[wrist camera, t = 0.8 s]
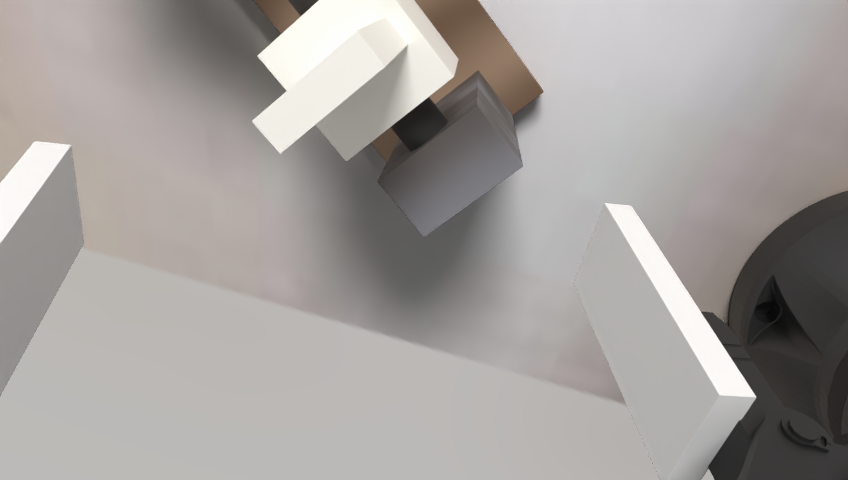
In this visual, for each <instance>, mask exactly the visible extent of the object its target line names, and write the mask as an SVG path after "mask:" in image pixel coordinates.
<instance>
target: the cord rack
mask: <svg viewBox="0 0 848 480" xmlns="http://www.w3.org/2000/svg"><path fill="white" fill-rule="evenodd" d="M253 1H254V2H255V3H256V4H257V5H258V7H259V8H260V9H261V10H262V11H263V13H264V14H265V15H266V16H267V18H268V19H269V20H270V21H271V22H272V24H273V25H274V26H275V27H276V28H277V30H278V31H279V32H280V33H281V34H282V33H283V32H284V31H285V30H286V29H288V28H289V27H290V26H291V25H292V24H293V23H294V22H295V21H296V20H298V19H299V18H300V17H301V16H302V15H303V14H304V13H305V12H306V11H308V10H309V9H310V8H311V7H312V6H313V5H314V4H315V3H316V2H317V1H319V0H253ZM415 2H416V3H417V4H418V6H419V7H420V8H421V10H422V11H423V12H424V14H425V15H426V16H427V18H428V19H429V20H430V22H431V23H432V24H433V26H434V27H435V28H436V30H437V31H438V32H439V34H440V35H441V36H442V38H443V39H444V40H445V42H446V43H447V44H448V46H449V47H450V48H451V50H452V51H453V52H454V54H455V55H456V56H457V58H458V59H459V60H458V63H457V67H456V71H455V75H454V77H453V78H452V79H450V80H449V81H448V82H447V83H445V84H444V85H443V86H442V87H440V88H439V89H438V90H437V91H435V92H434V93H433V94H432V95H430V96H429V97H428V98H426V99H425V100H424V101H423V102H421V103H420V104H419V105H418V106H416V107H415V108H414V109H413V110H411V111H410V112H409V113H408V114H406V115H405V116H404V117H402V118H401V119H400V120H399V121H397V122H396V123H395V124H394V125H392V126H391V127H390V128H389V129H387V130H386V131H385V132H384V133H382V134H381V135H380V136H378V137H377V138H376V139H375V140H373V141H372V142H371V144H372V145H373V146H374V148H375V149H376V150H377V151H378V152H379V154H380V155H381V156H382V157H383V158H384V160H385V161H386V162H387V164H386V166H385V168H384V170H383V172H382V174H381V176H380V178H379V180H378V183H379V184H380V185H381V187H382V188H383V189H384V190H385V191H386V193H387V194H388V195H389V196H390V197H391V198H392V200H393V201H394V202H395V203H396V204H397V206H398V207H399V208H400V209H401V210H402V212H403V213H404V214H405V215H406V216H407V218H408V219H409V220H410V221H411V222H412V224H413V225H414V226H415V227H416V228H417V230H418V231H419V232H420V233H421V234H422V236H423V237H425V236H426V235H428V234H429V233H430V232H432V231H433V230H435V229H436V228H437V227H439V226H440V225H442V224H443V223H444V222H446V221H447V220H449V219H450V218H451V217H453V216H454V215H456V214H457V213H458V212H460V211H461V210H463V209H464V208H465V207H467V206H468V205H470V204H471V203H472V202H474V201H475V200H477V199H478V198H479V197H481V196H482V195H484V194H485V193H486V192H488V191H489V190H491V189H492V188H493V187H495V186H496V185H498V184H499V183H500V182H502V181H503V180H505V179H506V178H507V177H509V176H510V175H512V174H513V173H514V172H516V171H517V170H519V169H520V168H521V167H523V164H522V159H521V154H520V150H519V145H518V140H517V136H516V131H515V126H514V121H513V117H512V115H514V114H515V113H516V112H518V111H519V110H520V109H522V108H523V107H524V106H526V105H527V104H528V103H530V102H531V101H532V100H534V99H535V98H536V97H538V96H539V95H540V94H542V93H543V90H542V88H541V87H540V85H539V84H538V82H537V81H536V80H535V78H534V77H533V76H532V74H531V73H530V71H529V70H528V69H527V67H526V66H525V64H524V63H523V62H522V60H521V59H520V58H519V56H518V55H517V53H516V52H515V51H514V49H513V48H512V47H511V45H510V44H509V42H508V41H507V40H506V38H505V37H504V35H503V34H502V33H501V31H500V30H499V29H498V27H497V26H496V24H495V23H494V22H493V20H492V19H491V17H490V16H489V15H488V13H487V12H486V11H485V9H484V8H483V6H482V5H481V4H480V2H479V1H478V0H415Z"/></svg>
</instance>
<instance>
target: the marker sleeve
mask: <svg viewBox="0 0 848 480" xmlns="http://www.w3.org/2000/svg"><path fill="white" fill-rule="evenodd" d="M258 57H259V59H260V60H261V61H262V62H263V63H264V65H265V66H266V67H267V68H268V69H269V71H270V72H271V73H272V74H273V75H274V76H275V78H276V79H277V80H278V81H279V82H280V84H281V85H282V86H283V87H284V88H285V90H286V92H285V93H284V94H283V95H281V96H280V97H279V98H278V99H277V100H276V101H275V102H273V103H272V104H271V105H270V106H269V107H268V108H266V109H265V110H264V111H263V112H262V113H261V114H259V115H258V116H257V117H256V118H255V119H254V120H253V121H252V122H253V123H254V124H255V126H256V127H257V128H258V129H259V130H260V131H261V132H262V134H263V135H264V136H265V137H266V138H267V139H268V140H269V142H270V143H271V144H272V145H273V146H274V147H275V148H276V150H277V151H278V152H279V153H282V152H283V151H284V150H285V149H287V148H288V147H289V146H290V145H291V144H293V143H294V142H295V141H296V140H297V139H299V138H300V137H301V136H302V135H303V134H305V133H306V132H307V131H308V130H309V129H311V128H312V127H313V126H314V125H316V126H317V127H318V129H319V130H320V131H321V132H322V133H323V135H324V136H325V137H326V138H327V139H328V141H329V142H330V143H331V144H332V145H333V146H334V148H335V149H336V150H337V151H338V152H339V154H340V155H341V156H342V157H343V158H344V160H345V161H346V162H347V161H348V160H349V159H351V158H352V157H353V156H354V155H356V154H357V153H358V152H359V151H361V150H362V149H363V148H365V147H366V146H367V145H368V144H370V143H371V142H372V141H373V140H375V139H376V138H377V137H378V136H380V135H381V134H382V133H384V132H385V131H386V130H387V129H389V128H390V127H391V126H392V125H394V124H395V123H396V122H397V121H399V120H400V119H401V118H402V117H404V116H405V115H406V114H408V113H409V112H410V111H411V110H413V109H414V108H415V107H416V106H418V105H419V104H420V103H421V102H423V101H424V100H425V99H426V98H428V97H429V96H430V95H432V94H433V93H434V92H435V91H437V90H438V89H439V88H440V87H442V86H443V85H444V84H445V83H447V82H448V81H449V80H450V79H452V78H453V77H454V75H455V71H456V67H457V63H458V60H459V59H458V58H457V56H456V55H455V54H454V52H453V51H452V50H451V48H450V47H449V46H448V44H447V43H446V42H445V40H444V39H443V38H442V36H441V35H440V34H439V32H438V31H437V30H436V28H435V27H434V26H433V24H432V23H431V22H430V20H429V19H428V18H427V16H426V15H425V14H424V12H423V11H422V10H421V8H420V7H419V6H418V4H417V3H416V2H415V0H319V1H317V2H316V3H315V4H314V5H313V6H312V7H311V8H310V9H309V10H308V11H306V12H305V13H304V14H303V15H302V16H301V17H300V18H299V19H298V20H296V21H295V22H294V23H293V24H292V25H291V26H290V27H289V28H288V29H286V30H285V31H284V32H283V33H282V34H281V35H280V36H279V37H278V38H276V39H275V40H274V41H273V42H272V43H271V44H270V45H269V46H268V47H266V48H265V49H264V50H263V51H262V52H261V53H260V54H259V55H258Z"/></svg>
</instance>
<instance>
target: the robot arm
mask: <svg viewBox="0 0 848 480" xmlns="http://www.w3.org/2000/svg"><path fill="white" fill-rule="evenodd" d="M83 244H84V238H83V230H82V223H81V215H80V207H79V200H78V192H77V185H76V177H75V169H74V162H73V154H72V147H71V145H66V144H56V143H47V142H38V141H35V142H34V143H33V144H32V145H31V147H30V148H29V149H28V150H27V151H26V153H25V154H24V155H23V156H22V157H21V159H20V160H19V161H18V162H17V163H16V165H15V166H14V167H13V168H12V170H11V171H10V172H9V173H8V174H7V176H6V177H5V178H4V179H3V180H2V182H1V183H0V396H1V394H2V392H3V390H4V388H5V386H6V385H7V382H8V381H9V379H10V377H11V375H12V374H13V372H14V370H15V368H16V366H17V365H18V363H19V361H20V359H21V357H22V355H23V354H24V352H25V350H26V348H27V346H28V344H29V343H30V341H31V339H32V337H33V335H34V333H35V332H36V330H37V328H38V326H39V324H40V322H41V321H42V319H43V317H44V315H45V313H46V311H47V310H48V308H49V306H50V304H51V302H52V301H53V299H54V296H55V295H56V293H57V291H58V290H59V288H60V286H61V284H62V282H63V280H64V279H65V277H66V275H67V273H68V271H69V269H70V268H71V266H72V264H73V262H74V260H75V258H76V257H77V255H78V253H79V251H80V249H81V247H82V246H83ZM573 285H574V287H575V289H576V291H577V294H578V296H579V298H580V301H581V303H582V305H583V307H584V310H585V312H586V314H587V316H588V319H589V321H590V323H591V325H592V328H593V330H594V332H595V334H596V337H597V339H598V341H599V343H600V346H601V348H602V350H603V352H604V355H605V357H606V359H607V361H608V364H609V366H610V368H611V370H612V373H613V375H614V377H615V380H616V382H617V384H618V386H619V389H620V391H621V393H622V395H623V398H624V400H625V402H626V404H627V407H628V409H629V411H630V413H631V416H632V418H633V420H634V422H635V425H636V427H637V429H638V431H639V434H640V436H641V438H642V440H643V443H644V445H645V447H646V449H647V451H648V454H649V456H650V459H651V461H652V463H653V465H654V468H655V470H656V472H657V474H658V477H659V478H660V480H701V479H702V477H703V476H704V475H705V473H706V471H707V470H708V469H709V470H710V471H711V473H712V475H713V477H714V479H715V480H848V191H846V192H842V193H839V194H836V195H833V196H831V197H828V198H826V199H823V200H821V201H819V202H817V203H815V204H813V205H810V206H809V207H807V208H805V209H803V210H802V211H800V212H798V213H797V214H795V215H794V216H792V217H791V218H789V219H788V220H787V221H785V222H784V223H783V224H781V225H780V226H779V227H778V228H777V229H775V230H774V231H773V232H772V233H771V234H770V235H769V236H768V237H767V238H766V239H765V240H764V241H763V242H762V243H761V244H760V246H759V247H758V248H757V249H756V251H755V252H754V253H753V255H752V256H751V257H750V259H749V260H748V262H747V263H746V265H745V267H744V268H743V270H742V272H741V274H740V276H739V278H738V281H737V283H736V286H735V289H734V292H733V295H732V299H731V304H730V311H729V327H728V326H727V325H726V324H725V323H724V322H723V321H721V320H720V319H719V318H718V317H717V316H716V315H714V314H713V313H712V312H700V310H699V309H698V307H697V305H696V304H695V302H694V301H693V299H692V298H691V296H690V295H689V293H688V292H687V290H686V289H685V287H684V286H683V284H682V283H681V281H680V279H679V278H678V276H677V275H676V273H675V272H674V270H673V269H672V267H671V266H670V264H669V263H668V261H667V260H666V258H665V257H664V255H663V254H662V252H661V250H660V249H659V247H658V246H657V244H656V243H655V241H654V240H653V238H652V237H651V235H650V234H649V232H648V231H647V229H646V228H645V226H644V224H643V223H642V221H641V220H640V218H639V217H638V215H637V214H636V212H635V211H634V209H633V208H632V206H628V205H619V204H610V203H604V206H603V208H602V211H601V214H600V216H599V219H598V221H597V224H596V226H595V229H594V231H593V234H592V236H591V239H590V242H589V244H588V247H587V249H586V252H585V254H584V257H583V259H582V262H581V264H580V267H579V270H578V272H577V275H576V277H575V280H574V282H573Z"/></svg>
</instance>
